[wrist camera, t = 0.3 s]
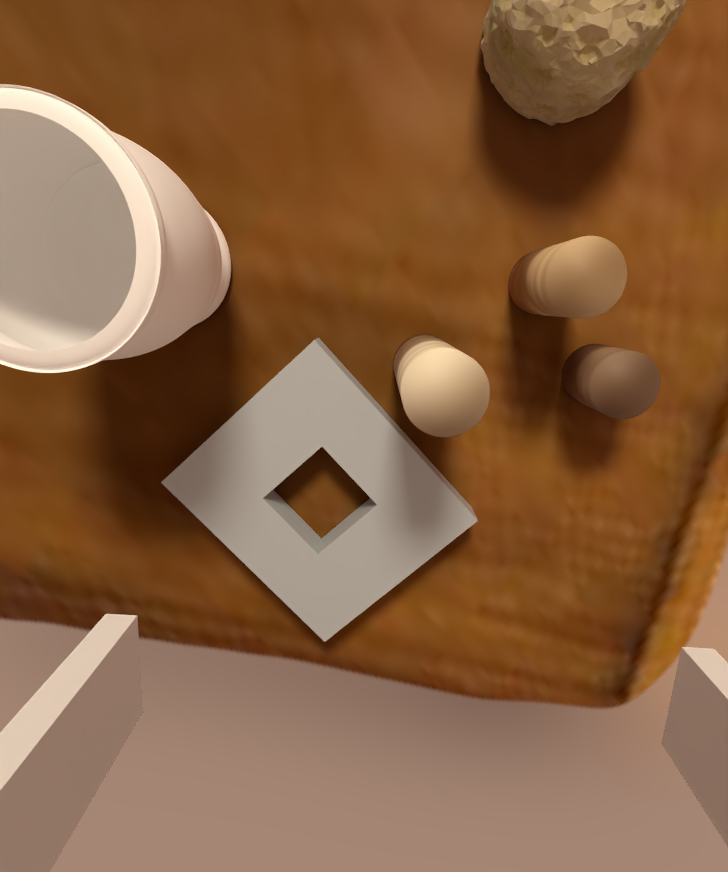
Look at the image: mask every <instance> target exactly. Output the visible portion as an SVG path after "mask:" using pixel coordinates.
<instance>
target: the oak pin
mask: <svg viewBox="0 0 728 872" xmlns="http://www.w3.org/2000/svg"><path fill="white" fill-rule="evenodd" d="M626 281H627V266H626V262H625V259H624V257H623V254H622V253H621V251H620V250H619V249H618V247H617V246H616V245H614V244H613V243H612V242H610V241H609V240H607V239H605V238H602V237H598V236H584V237H580V238H576V239H573V240H570V241H566V242H563V243H560V244H557V245H553V246H550V247H547V248H544V249H540V250H537V251H534V252H531V253H529V254H527V255H525V256H523V257H522V258H521V259H520V260H519V261H518V262H517V263H516V264H515V266H514V267H513V269H512V271H511V274H510V277H509V293H510V296H511V298H512V300H513V302H514V303H515V305H516V306H517V307H518V308H519V309H521V310H522V311H524V312H526V313H529V314H534V315H544V316H555V317H567V318H578V319H587V318H593V317H596V316H599V315H601V314H603V313H605V312H606V311H608V310H609V309H610V308H611V307H612V306H614V305H615V303H616V302H617V301H618V300H619V298H620V297H621V295H622V293H623V291H624V288H625V285H626Z"/></svg>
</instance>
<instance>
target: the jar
mask: <svg viewBox="0 0 728 872" xmlns="http://www.w3.org/2000/svg"><path fill="white" fill-rule="evenodd" d="M230 277H231V258H230V253H229V248H228V245H227V242H226V239H225V237H224V235H223V233H222V231H221V229H220V228H219V226H218V224H217V223H216V222H215V220H214V219H213V218H212V217H211V215H210V214H209V213H208V212H207V211H206V210H204V209H203V208H202V206H201V205H200V204H199V202H198V201H197V199H196V198H195V197H194V195H193V194H192V192H191V191H190V190H189V189H188V187H187V186H186V185H185V184H184V183H183V181H182V180H181V179H180V178H179V177H178V176H177V175H176V174H175V173H174V172H173V171H172V170H171V169H170V168H169V167H168V166H166V165H165V164H164V163H163V162H162V161H161V160H159V159H158V158H157V157H155V156H154V155H153V154H151V153H150V152H149V151H147V150H146V149H144V148H142V147H141V146H139V145H138V144H136V143H134V142H132V141H131V140H129V139H127V138H125V137H123V136H121V135H119V134H116V133H114V132H112V131H110V130H109V129H108V128H107V127H106V126H105V125H103V124H102V123H101V122H100V121H98V120H97V119H96V118H94V117H93V116H92V115H90V114H89V113H87V112H86V111H84V110H82V109H81V108H79V107H77V106H76V105H74V104H72V103H70V102H68V101H66V100H64V99H62V98H60V97H57V96H55V95H53V94H50V93H47V92H44V91H41V90H38V89H34V88H30V87H25V86H19V85H8V84H0V364H3V365H6V366H9V367H12V368H16V369H20V370H25V371H31V372H41V373H57V372H66V371H72V370H76V369H80V368H84V367H87V366H90V365H93V364H96V363H98V362H100V361H103V360H115V359H123V358H129V357H134V356H138V355H142V354H145V353H148V352H151V351H154V350H156V349H159V348H161V347H163V346H165V345H167V344H169V343H170V342H172V341H174V340H175V339H177V338H178V337H179V336H181V335H182V334H183V333H185V332H186V331H187V330H188V329H190V328H191V327H192V326H194V325H196V324H198V323H200V322H202V321H203V320H205V319H206V318H208V317H209V316H210V315H211V314H212V313H213V312H214V311H215V310H216V309H217V308H218V307H219V305H220V304H221V302H222V301H223V299H224V297H225V295H226V293H227V290H228V287H229V283H230Z"/></svg>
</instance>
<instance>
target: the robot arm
mask: <svg viewBox="0 0 728 872" xmlns="http://www.w3.org/2000/svg"><path fill="white" fill-rule="evenodd" d="M142 713H143V708H142V690H141V673H140V657H139V638H138V620H137V616H135V615H118V614H105V616H104V617H103V618H102V619H101V620H100V621H99V622H98V623H97V625H96V626H95V627H94V628H93V629H92V630H91V631H90V632H89V634H88V635H87V636H86V637H85V638H84V639H83V640H82V641H81V643H80V644H79V645H78V646H77V647H76V648H75V650H74V651H73V652H72V653H71V654H70V655H69V656H68V657H67V658H66V659H65V661H64V662H63V663H62V664H61V665H60V666H59V667H58V668H57V670H56V671H55V672H54V673H53V674H52V675H51V676H50V677H49V679H48V680H47V681H46V682H45V683H44V684H43V686H41V688H40V689H39V690H38V691H37V692H36V693H35V694H34V695H33V697H32V698H31V699H30V700H29V701H28V702H27V703H26V704H25V706H24V707H23V708H22V709H21V710H20V711H19V712H18V714H16V716H15V717H14V718H13V719H12V720H11V721H10V722H9V724H8V725H7V726H6V727H5V728H4V729H3V731H2V732H0V872H50V870H51V869H52V867H53V865H54V864H55V862H56V860H57V858H58V857H59V855H60V853H61V851H62V850H63V848H64V846H65V845H66V843H67V841H68V840H69V838H70V836H71V834H72V833H73V831H74V829H75V828H76V826H77V824H78V822H79V821H80V819H81V817H82V816H83V814H84V812H85V810H86V809H87V807H88V805H89V804H90V802H91V800H92V798H93V797H94V795H95V793H96V791H97V790H98V788H99V786H100V785H101V783H102V781H103V780H104V778H105V776H106V774H107V773H108V771H109V769H110V768H111V766H112V764H113V762H114V761H115V759H116V757H117V755H118V754H119V752H120V750H121V748H122V747H123V745H124V743H125V742H126V740H127V738H128V737H129V735H130V733H131V732H132V730H133V728H134V726H135V725H136V723H137V721H138V719H139V718H140V716H141V714H142ZM662 745H663V747H664V748H665V750H666V751H667V753H668V755H669V756H670V758H671V759H672V761H673V762H674V764H675V765H676V767H677V769H678V770H679V772H680V773H681V775H682V776H683V778H684V779H685V781H686V783H687V784H688V786H689V787H690V789H691V790H692V792H693V793H694V795H695V797H696V798H697V800H698V801H699V803H700V804H701V806H702V807H703V809H704V811H705V812H706V814H707V815H708V817H709V818H710V820H711V821H712V823H713V824H714V826H715V827H716V829H717V830H718V832H719V834H720V835H721V837H722V838H723V840H724V842H725V843H726V845H727V846H728V663H727V662H726V661H725V660H724V659H723V658H722V657H721V656H720V655H719V654H718V653H717V651H715V649H708V648H690V647H681V652H680V657H679V662H678V667H677V672H676V677H675V681H674V686H673V691H672V696H671V701H670V706H669V711H668V716H667V720H666V725H665V730H664V735H663V739H662Z"/></svg>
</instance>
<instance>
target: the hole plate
mask: <svg viewBox="0 0 728 872" xmlns="http://www.w3.org/2000/svg"><path fill="white" fill-rule="evenodd" d="M321 447H323V448H324V449H325V450H326V451H327V452H328V453H329V454H330V456H331V457H332V458H333V459H334V460H335V461H336V462H337V463H338V464H339V465H340V466H341V467H342V468H343V469H344V470H345V471H346V473H347V474H348V475H349V476H350V477H351V478H352V479H353V480H354V481H355V482H356V483H357V484H358V485H359V486H360V487H361V488H362V489H363V491H364V492H365V493H366V494H367V495H368V496H369V497H370V498H369V499H368V500H367V501H366V502H365V503H363V504H362V505H361V506H360V507H359V508H357V509H356V510H355V511H354V512H353V513H352V514H350V515H349V516H348V517H347V518H346V519H344V520H343V521H342V522H341V523H340V524H338V525H337V526H336V527H335V528H334V529H332V530H331V531H330V532H329V533H328V534H326V535H325V536H324V537H323V538H322V539H321V538H320V537H319V536H318V535H317V534H316V533H315V532H314V531H313V530H312V529H311V527H310V526H309V525H308V524H307V523H306V522H305V521H304V520H303V519H302V518H301V517H300V516H299V515H298V514H297V513H296V512H295V511H294V510H293V509H292V508H291V507H290V506H289V505H288V504H287V503H286V502H285V501H284V500H283V499H282V498H281V497H280V496H279V495H278V494H277V493H276V492H275V491H274V490H273V489H274V488H275V487H276V486H277V485H279V484H280V483H281V482H282V481H283V480H284V479H285V478H287V477H288V476H289V475H290V474H291V473H292V472H293V471H295V470H296V469H297V468H298V467H299V466H300V465H301V464H303V463H304V462H305V461H306V460H307V459H308V458H309V457H310V456H312V455H313V454H314V453H315V452H316V451H317V450H318V449H320V448H321ZM161 483H162V484H163V485H164V486H165V487H166V488H167V489H168V490H169V491H170V492H171V493H172V494H173V495H174V496H175V497H176V498H177V499H178V500H179V501H180V502H181V503H183V504H184V505H185V506H186V507H187V508H188V509H189V510H190V511H191V512H192V513H193V514H194V515H195V516H196V517H197V518H198V519H199V520H200V521H201V522H202V523H203V524H204V525H205V526H206V527H207V528H208V529H209V530H210V531H211V532H212V533H213V534H214V535H215V536H216V537H217V538H218V539H219V540H221V541H222V542H223V543H224V544H225V545H226V546H227V547H228V548H229V549H230V550H231V551H232V552H233V553H234V554H235V555H236V556H237V557H238V558H239V559H240V560H241V561H242V562H243V563H244V564H245V565H246V566H247V567H248V568H249V569H250V570H251V571H252V572H253V573H254V574H255V575H256V576H257V577H259V578H260V579H261V580H262V581H263V582H264V583H265V584H266V585H267V586H268V587H269V588H270V589H271V590H272V591H273V592H274V593H275V594H276V595H277V596H278V597H279V598H280V599H281V600H282V601H283V602H284V603H285V604H286V605H287V606H288V607H289V608H290V609H291V610H292V611H293V612H294V613H295V614H297V615H298V616H299V617H300V618H301V619H302V620H303V621H304V622H305V623H306V624H307V625H308V626H309V627H310V628H311V629H312V630H313V631H314V632H315V633H316V634H317V635H318V636H319V637H320V638H321V639H322V640H323V641H324V642H325V641H327V640H328V639H329V638H330V637H332V636H333V635H334V634H335V633H337V632H338V631H339V630H340V629H342V628H343V627H344V626H346V625H347V624H348V623H349V622H351V621H352V620H353V619H354V618H356V617H357V616H358V615H359V614H361V613H362V612H363V611H364V610H366V609H367V608H368V607H370V606H371V605H372V604H373V603H375V602H376V601H377V600H378V599H380V598H381V597H382V596H383V595H385V594H386V593H387V592H388V591H390V590H391V589H392V588H394V587H395V586H396V585H397V584H399V583H400V582H401V581H402V580H404V579H405V578H406V577H407V576H409V575H410V574H411V573H412V572H414V571H415V570H416V569H418V568H419V567H420V566H421V565H423V564H424V563H425V562H426V561H428V560H429V559H430V558H431V557H433V556H434V555H435V554H437V553H438V552H439V551H440V550H442V549H443V548H444V547H445V546H447V545H448V544H449V543H450V542H452V541H453V540H454V539H455V538H457V537H458V536H459V535H461V534H462V533H463V532H464V531H466V530H467V529H468V528H469V527H471V526H472V525H473V524H474V523H476V522H477V521H478V520H477V518H476V516H475V514H474V511H473V509H472V507H471V506H470V505H469V504H468V503H467V502H466V500H465V499H464V498H463V497H462V496H461V495H460V494H459V493H458V492H457V490H456V489H455V488H454V487H453V486H452V485H451V484H450V483H449V482H448V480H447V479H446V478H445V477H444V476H443V475H442V474H441V473H440V472H439V470H438V469H437V468H436V467H435V466H434V465H433V464H432V463H431V462H430V461H429V459H428V458H427V457H426V456H425V455H424V454H423V453H422V452H421V451H420V449H419V448H418V447H417V446H416V445H415V444H414V443H413V442H412V441H411V439H410V438H409V437H408V436H407V435H406V434H405V433H404V432H403V431H402V430H401V428H400V427H399V426H398V425H397V424H396V423H395V422H394V421H393V420H392V418H391V417H390V416H389V415H388V414H387V413H386V412H385V411H384V410H383V408H382V407H381V406H380V405H379V404H378V403H377V402H376V401H375V400H374V398H373V397H372V396H371V395H370V394H369V393H368V392H367V391H366V390H365V389H364V387H363V386H362V385H361V384H360V383H359V382H358V381H357V380H356V379H355V377H354V376H353V375H352V374H351V373H350V372H349V371H348V370H347V369H346V367H345V366H344V365H343V364H342V363H341V362H340V361H339V360H338V359H337V357H336V356H335V355H334V354H333V353H332V352H331V351H330V350H329V349H328V348H327V346H326V345H325V344H324V343H323V342H322V341H321V340H320V339H319V338H317V339H315V340H314V341H313V342H312V343H311V344H310V345H309V346H308V347H306V348H305V349H304V350H303V351H302V352H301V353H300V354H299V355H298V356H297V357H296V358H295V359H293V360H292V361H291V362H290V363H289V364H288V365H287V366H286V367H285V368H284V369H283V370H282V371H281V372H279V373H278V374H277V375H276V376H275V377H274V378H273V379H272V380H271V381H270V382H269V383H268V384H267V385H265V386H264V387H263V388H262V389H261V390H260V391H259V392H258V393H257V394H256V395H255V396H254V397H253V398H251V399H250V400H249V401H248V402H247V403H246V404H245V405H244V406H243V407H242V408H241V409H240V410H239V411H237V412H236V413H235V414H234V415H233V416H232V417H231V418H230V419H229V420H228V421H227V422H226V423H225V424H223V425H222V426H221V427H220V428H219V429H218V430H217V431H216V432H215V433H214V434H213V435H212V436H211V437H209V438H208V439H207V440H206V441H205V442H204V443H203V444H202V445H201V446H200V447H199V448H198V449H197V450H195V451H194V452H193V453H192V454H191V455H190V456H189V457H188V458H187V459H186V460H185V461H184V462H183V463H181V464H180V465H179V466H178V467H177V468H176V469H175V470H174V471H173V472H172V473H171V474H170V475H169V476H167V477H166V478H165V479H164V480H163V481H162V482H161Z"/></svg>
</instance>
